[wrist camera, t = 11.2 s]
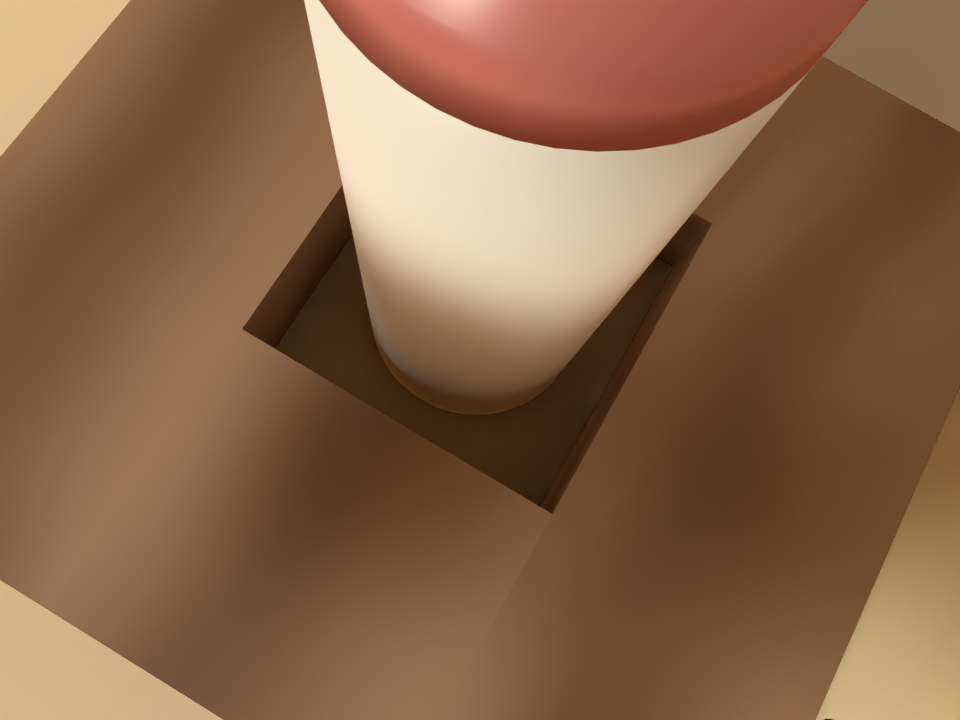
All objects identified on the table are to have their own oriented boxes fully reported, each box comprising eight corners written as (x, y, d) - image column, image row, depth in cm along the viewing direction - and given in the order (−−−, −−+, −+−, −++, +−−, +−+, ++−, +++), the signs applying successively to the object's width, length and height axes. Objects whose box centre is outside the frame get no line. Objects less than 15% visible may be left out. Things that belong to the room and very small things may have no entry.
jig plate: (969, 227, 19) (1048, 181, 17) (645, 938, 15) (688, 1010, 13) (328, -131, 20) (316, -224, 18) (-136, 452, 16) (-232, 435, 14)
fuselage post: (612, 366, 18) (1075, -60, 5) (419, 448, 17) (425, 179, 5) (527, 187, 19) (754, -556, 6) (339, 257, 18) (157, -419, 5)
